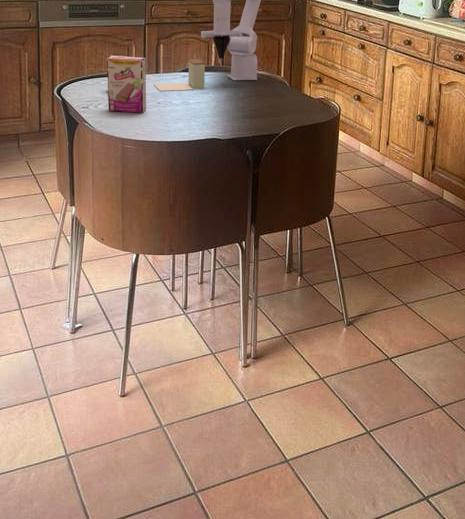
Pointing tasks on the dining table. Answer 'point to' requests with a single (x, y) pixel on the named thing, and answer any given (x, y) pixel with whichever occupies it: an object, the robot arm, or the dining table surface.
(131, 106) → the candy bar box
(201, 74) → the sage block
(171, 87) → the mat
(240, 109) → the dining table surface
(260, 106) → the dining table surface
